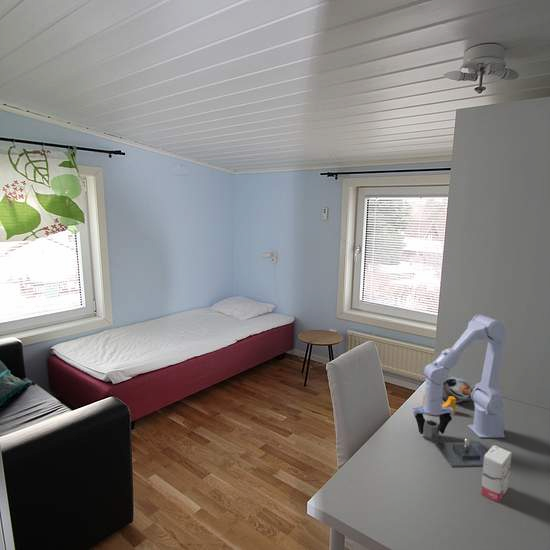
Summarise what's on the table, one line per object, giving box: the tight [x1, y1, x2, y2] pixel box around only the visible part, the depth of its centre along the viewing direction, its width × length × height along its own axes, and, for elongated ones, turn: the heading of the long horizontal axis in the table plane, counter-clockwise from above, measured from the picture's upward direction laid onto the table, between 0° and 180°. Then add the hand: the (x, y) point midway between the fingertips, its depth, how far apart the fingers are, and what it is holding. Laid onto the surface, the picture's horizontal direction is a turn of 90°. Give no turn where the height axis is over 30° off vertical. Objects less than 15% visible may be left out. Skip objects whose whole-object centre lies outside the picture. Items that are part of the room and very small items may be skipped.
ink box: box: [480, 444, 512, 503], centre depth 107 cm, size 9×5×12 cm, turn 132°
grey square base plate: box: [434, 437, 489, 468], centre depth 124 cm, size 16×12×6 cm
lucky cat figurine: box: [442, 375, 474, 404], centre depth 161 cm, size 15×12×14 cm
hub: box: [422, 419, 440, 441], centre depth 135 cm, size 5×5×5 cm
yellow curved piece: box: [422, 394, 457, 416], centre depth 151 cm, size 12×4×6 cm, turn 85°
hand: (431, 432), depth 135 cm, fingers open, 7 cm apart
